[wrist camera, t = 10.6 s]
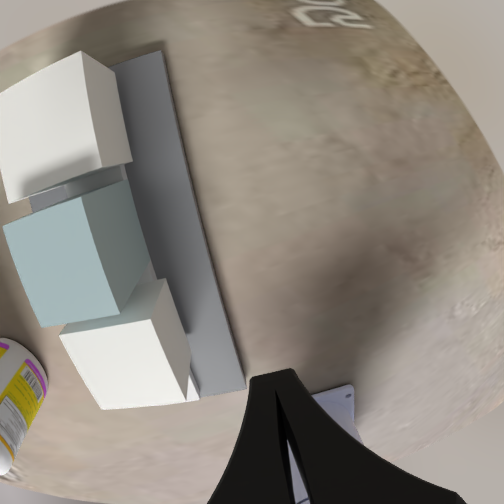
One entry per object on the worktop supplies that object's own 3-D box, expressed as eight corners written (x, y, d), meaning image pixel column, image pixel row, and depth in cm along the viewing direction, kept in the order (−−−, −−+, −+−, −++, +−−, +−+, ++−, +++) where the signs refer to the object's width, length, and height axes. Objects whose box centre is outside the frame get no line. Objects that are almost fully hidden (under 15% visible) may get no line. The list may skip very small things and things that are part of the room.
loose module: (150, 259, 17) (120, 313, 11) (88, 274, 17) (41, 327, 11) (127, 178, 15) (80, 196, 10) (64, 199, 15) (2, 226, 10)
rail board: (245, 380, 22) (254, 446, 16) (122, 398, 22) (104, 458, 16) (163, 54, 15) (137, 13, 9) (20, 113, 15) (-43, 109, 9)
